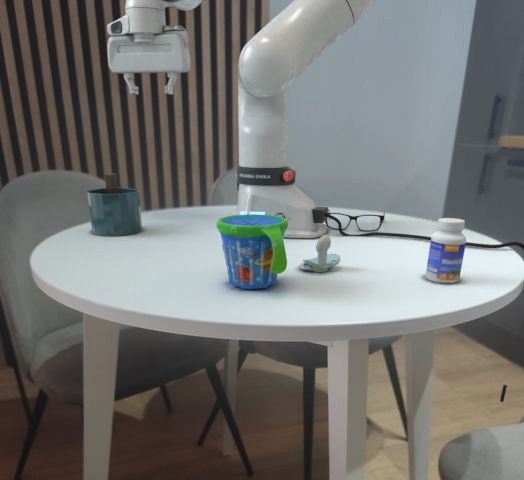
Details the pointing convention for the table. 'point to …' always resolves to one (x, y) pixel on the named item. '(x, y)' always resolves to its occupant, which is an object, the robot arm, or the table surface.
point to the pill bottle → (446, 251)
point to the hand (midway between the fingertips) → (151, 94)
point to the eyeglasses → (356, 221)
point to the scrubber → (111, 183)
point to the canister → (115, 212)
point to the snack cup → (253, 249)
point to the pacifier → (321, 257)
